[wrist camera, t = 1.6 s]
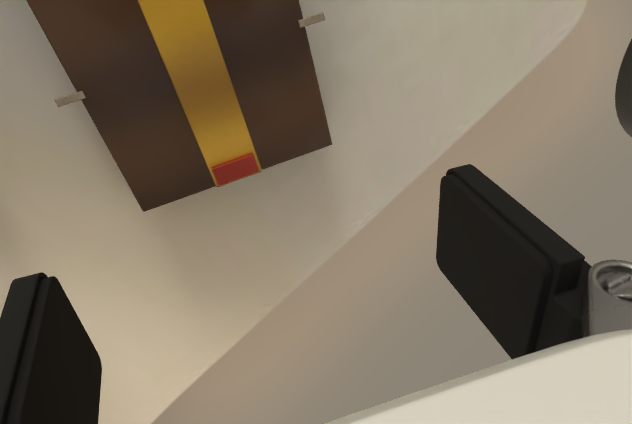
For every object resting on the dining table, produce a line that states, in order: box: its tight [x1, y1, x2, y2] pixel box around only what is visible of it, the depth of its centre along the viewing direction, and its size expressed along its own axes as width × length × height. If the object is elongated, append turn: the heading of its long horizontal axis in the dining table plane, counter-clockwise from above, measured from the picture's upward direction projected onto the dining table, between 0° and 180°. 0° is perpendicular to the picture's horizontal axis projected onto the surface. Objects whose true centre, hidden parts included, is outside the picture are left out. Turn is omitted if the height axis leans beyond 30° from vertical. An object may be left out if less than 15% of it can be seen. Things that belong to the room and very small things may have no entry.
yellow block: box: [138, 0, 262, 187], centre depth 23 cm, size 10×2×5 cm, turn 13°
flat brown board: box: [27, 0, 332, 212], centre depth 26 cm, size 15×14×3 cm
